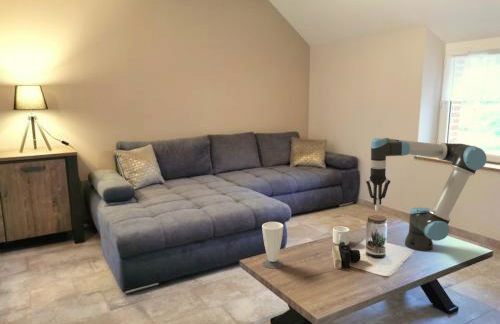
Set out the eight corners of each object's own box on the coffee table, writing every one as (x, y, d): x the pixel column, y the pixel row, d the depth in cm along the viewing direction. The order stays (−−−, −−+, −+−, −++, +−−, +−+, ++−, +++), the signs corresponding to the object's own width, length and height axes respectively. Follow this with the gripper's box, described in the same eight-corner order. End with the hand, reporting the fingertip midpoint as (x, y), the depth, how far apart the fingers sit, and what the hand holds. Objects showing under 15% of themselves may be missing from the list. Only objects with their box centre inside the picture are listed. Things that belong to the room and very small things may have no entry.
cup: (287, 263, 200) (288, 224, 196) (274, 270, 191) (274, 230, 187) (271, 257, 207) (271, 220, 203) (257, 264, 199) (257, 225, 195)
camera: (362, 268, 193) (363, 250, 191) (342, 268, 193) (342, 250, 191) (356, 257, 206) (357, 240, 204) (337, 257, 207) (337, 240, 205)
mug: (349, 249, 217) (349, 234, 215) (331, 246, 221) (331, 232, 219) (351, 241, 228) (351, 227, 226) (333, 239, 232) (334, 225, 230)
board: (337, 254, 210) (337, 245, 209) (341, 268, 193) (341, 259, 192) (332, 253, 211) (332, 245, 210) (335, 268, 193) (335, 259, 192)
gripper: (388, 165, 200) (387, 208, 205) (363, 166, 201) (363, 208, 206) (392, 168, 193) (391, 212, 197) (367, 169, 194) (366, 212, 198)
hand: (377, 210), depth 201 cm, fingers closed
